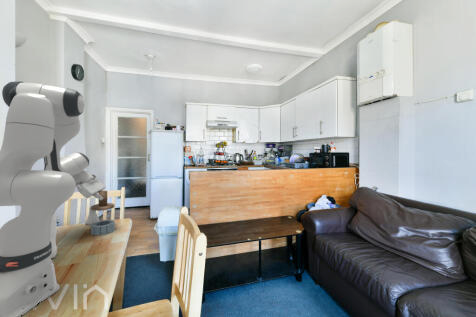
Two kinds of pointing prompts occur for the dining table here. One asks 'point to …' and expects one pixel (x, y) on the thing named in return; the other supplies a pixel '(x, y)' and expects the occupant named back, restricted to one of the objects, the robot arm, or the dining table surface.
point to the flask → (92, 217)
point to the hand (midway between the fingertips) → (104, 198)
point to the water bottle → (53, 235)
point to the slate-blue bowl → (102, 227)
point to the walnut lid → (103, 203)
